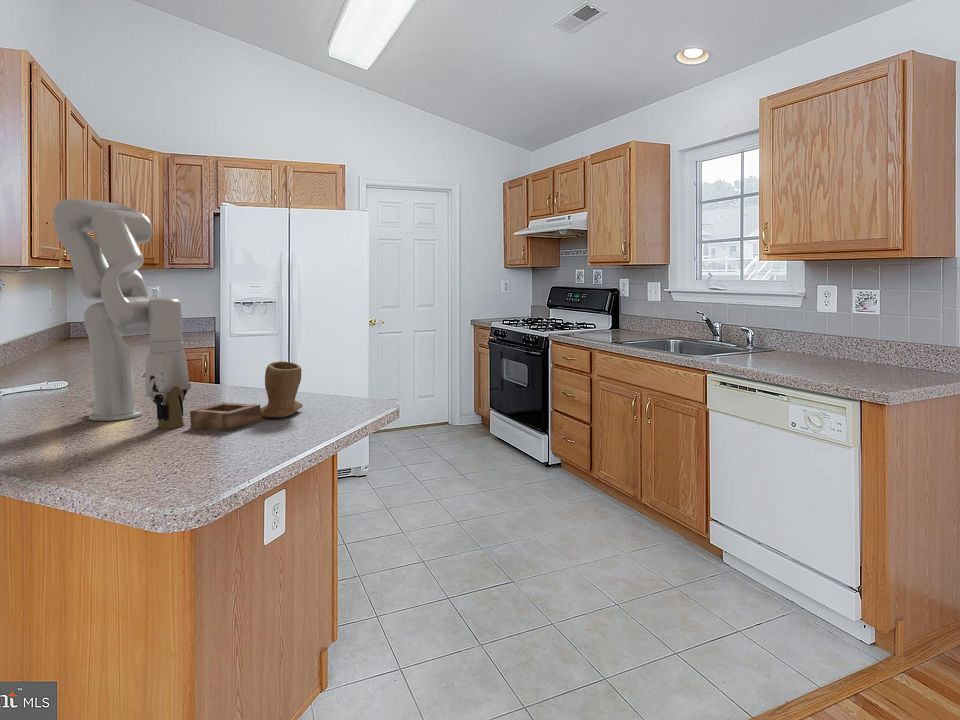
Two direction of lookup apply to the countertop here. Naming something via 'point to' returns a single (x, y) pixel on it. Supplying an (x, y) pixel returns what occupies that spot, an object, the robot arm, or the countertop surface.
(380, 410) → the countertop surface
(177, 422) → the olive knobbed peg
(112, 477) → the countertop surface
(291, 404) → the stone cup
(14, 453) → the countertop surface
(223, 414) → the socket block
